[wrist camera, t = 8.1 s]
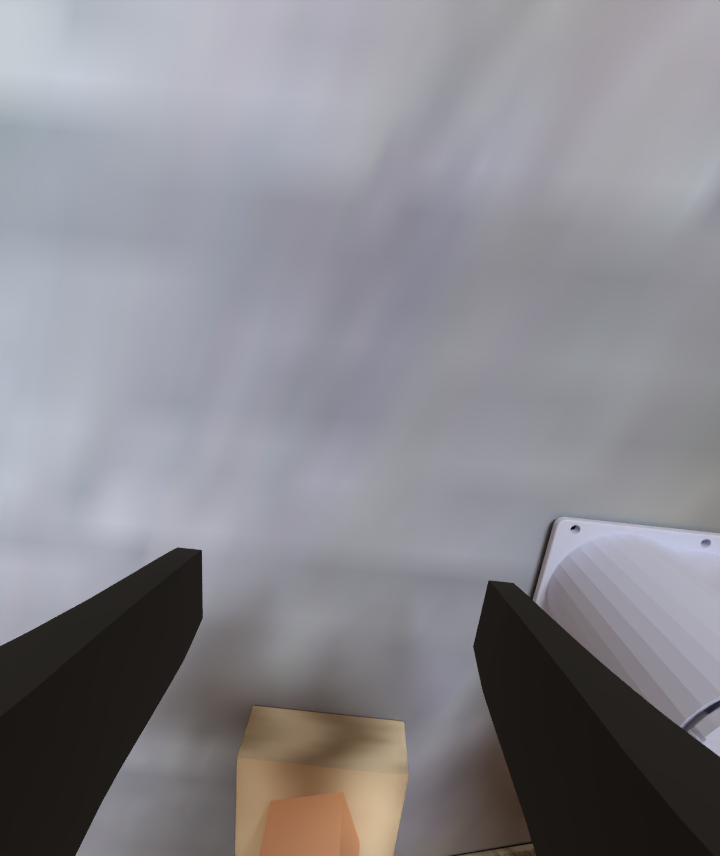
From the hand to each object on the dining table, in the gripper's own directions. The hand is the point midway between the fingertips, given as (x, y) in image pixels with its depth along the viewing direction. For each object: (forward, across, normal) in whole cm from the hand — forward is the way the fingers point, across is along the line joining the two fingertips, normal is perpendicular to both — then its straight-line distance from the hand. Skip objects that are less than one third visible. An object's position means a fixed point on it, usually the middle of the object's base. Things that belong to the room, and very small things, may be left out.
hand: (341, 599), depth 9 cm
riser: (+10, 0, +23) cm, 25 cm away
